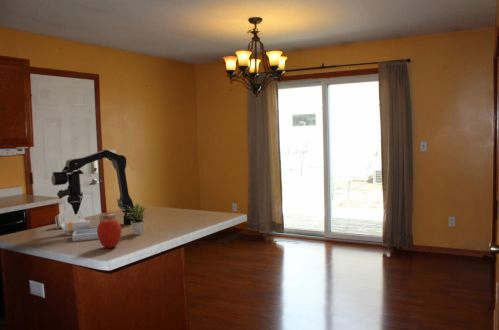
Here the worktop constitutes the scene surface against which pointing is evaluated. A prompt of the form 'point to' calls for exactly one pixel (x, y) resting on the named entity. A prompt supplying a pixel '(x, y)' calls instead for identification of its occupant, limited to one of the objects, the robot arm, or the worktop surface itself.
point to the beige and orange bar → (77, 225)
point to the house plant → (137, 219)
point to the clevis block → (102, 217)
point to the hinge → (68, 218)
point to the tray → (85, 234)
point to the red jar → (109, 233)
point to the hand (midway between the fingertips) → (76, 212)
